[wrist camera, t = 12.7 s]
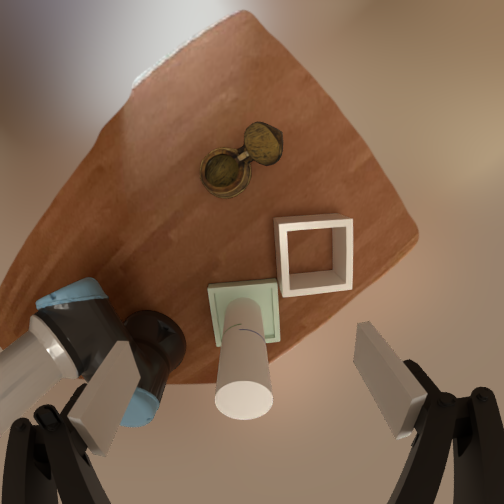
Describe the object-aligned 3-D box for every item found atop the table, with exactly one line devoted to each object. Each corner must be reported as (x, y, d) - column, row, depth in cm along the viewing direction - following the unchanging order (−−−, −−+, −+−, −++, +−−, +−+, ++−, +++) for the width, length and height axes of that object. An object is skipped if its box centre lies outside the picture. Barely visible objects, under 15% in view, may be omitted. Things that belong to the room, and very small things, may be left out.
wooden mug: (281, 169, 50) (302, 163, 32) (217, 207, 51) (204, 220, 34) (256, 128, 48) (263, 101, 30) (192, 166, 49) (166, 158, 32)
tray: (217, 340, 58) (216, 346, 55) (208, 283, 55) (207, 288, 52) (278, 335, 58) (280, 341, 55) (275, 278, 55) (277, 282, 52)
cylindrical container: (259, 329, 56) (269, 420, 32) (224, 328, 56) (214, 418, 32) (262, 298, 55) (276, 381, 30) (226, 296, 54) (214, 378, 30)
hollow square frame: (277, 281, 55) (282, 297, 47) (273, 217, 52) (278, 224, 44) (338, 274, 55) (352, 289, 47) (337, 213, 52) (352, 218, 44)
